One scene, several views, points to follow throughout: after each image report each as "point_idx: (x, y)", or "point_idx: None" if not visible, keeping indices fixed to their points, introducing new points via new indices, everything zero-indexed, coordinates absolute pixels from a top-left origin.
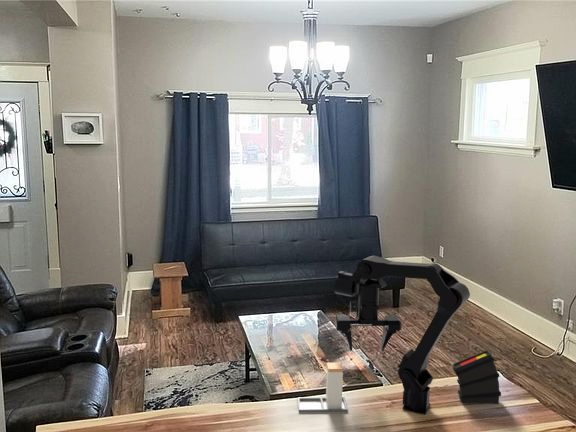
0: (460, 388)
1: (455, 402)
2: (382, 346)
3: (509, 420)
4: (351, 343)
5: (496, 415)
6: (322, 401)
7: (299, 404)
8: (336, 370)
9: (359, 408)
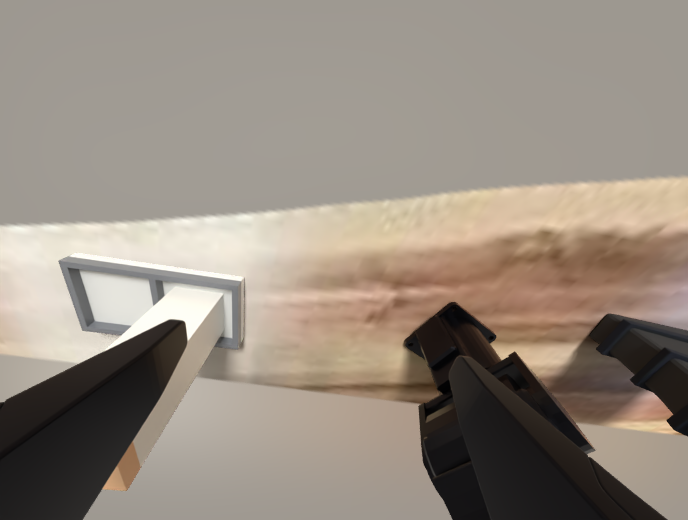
0: (635, 352)
1: (574, 330)
2: (463, 435)
3: (613, 407)
4: (111, 463)
5: (608, 390)
6: (157, 300)
7: (77, 304)
8: None
9: (284, 316)
